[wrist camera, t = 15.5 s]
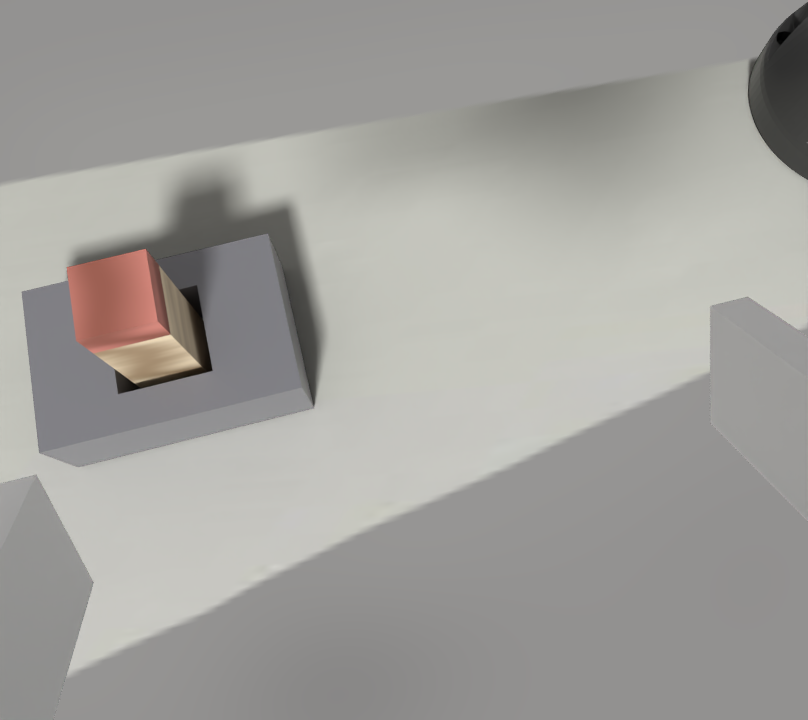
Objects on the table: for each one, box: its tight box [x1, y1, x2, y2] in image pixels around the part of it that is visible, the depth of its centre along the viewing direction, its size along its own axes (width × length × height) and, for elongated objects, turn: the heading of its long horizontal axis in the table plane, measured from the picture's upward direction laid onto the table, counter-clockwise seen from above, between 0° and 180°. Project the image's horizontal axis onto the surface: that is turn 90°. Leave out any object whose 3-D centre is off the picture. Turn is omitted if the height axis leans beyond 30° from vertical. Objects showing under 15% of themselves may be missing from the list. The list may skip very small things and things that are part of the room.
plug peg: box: [67, 249, 213, 388], centre depth 43 cm, size 4×4×12 cm
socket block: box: [22, 233, 314, 467], centre depth 46 cm, size 15×10×5 cm, turn 104°
